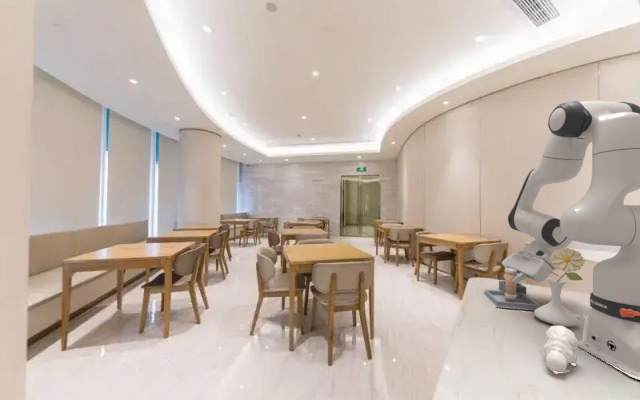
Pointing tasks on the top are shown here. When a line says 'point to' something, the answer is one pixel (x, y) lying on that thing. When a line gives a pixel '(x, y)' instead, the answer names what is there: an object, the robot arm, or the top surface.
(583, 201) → the robot arm
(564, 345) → the white lumpy oval piece
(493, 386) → the top surface
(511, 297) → the tan bottle
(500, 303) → the parts tray
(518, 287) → the socket block
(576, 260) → the flower in vase
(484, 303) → the top surface
